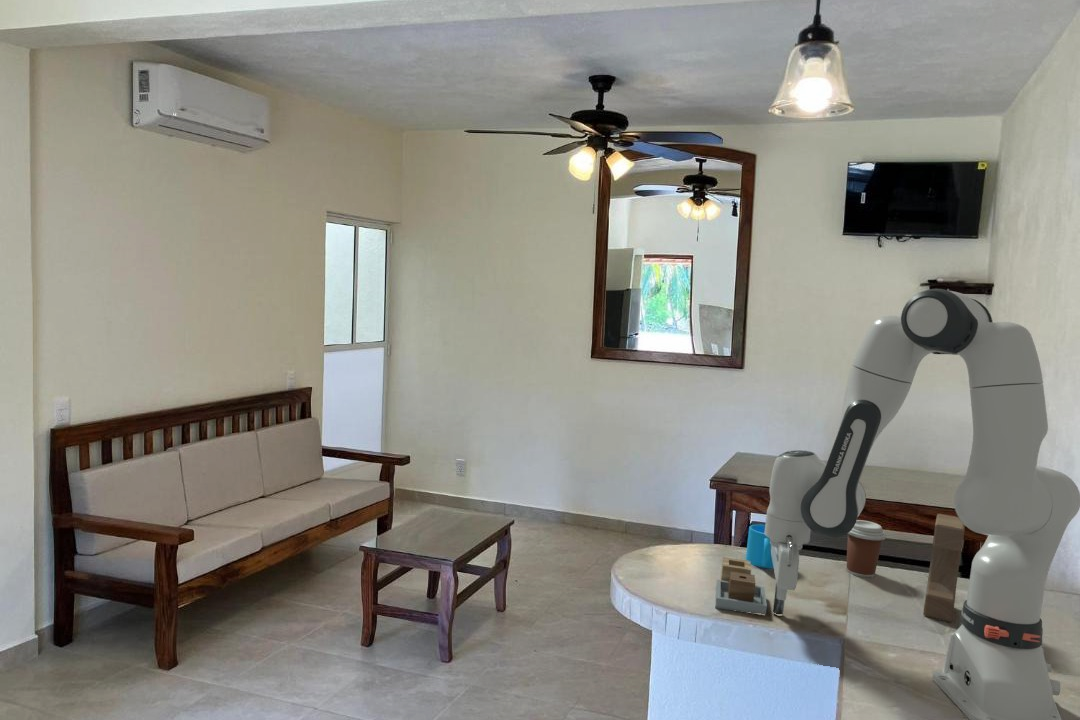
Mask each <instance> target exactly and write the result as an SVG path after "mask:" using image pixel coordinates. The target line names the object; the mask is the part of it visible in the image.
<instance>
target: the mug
mask: <svg viewBox="0 0 1080 720" xmlns="http://www.w3.org/2000/svg"><path fill="white" fill-rule="evenodd" d="M745 553H746V554H745V560H746V561H750V563H751V565H752V566H755V567H758V568H763V569H764V568H765V569H774V567H773V562H772V556H771V544H770V538H768V537H767V536H766V535H765V524H752V525H750V526H749V527H748V536H747V545H746V552H745Z"/></svg>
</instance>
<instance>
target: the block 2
mask: <svg viewBox="0 0 1080 720" xmlns="http://www.w3.org/2000/svg"><path fill="white" fill-rule="evenodd" d="M755 575H756V574H752V573H751V574H744V573H738V572H730V581H729V590H728V598H729V599H735V600H742V601H748V602H753V601H754V592H755V586H756V576H755Z"/></svg>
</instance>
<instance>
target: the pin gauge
mask: <svg viewBox="0 0 1080 720" xmlns="http://www.w3.org/2000/svg"><path fill="white" fill-rule="evenodd" d="M775 584H776V583H775ZM774 590H775V589H774ZM776 594H777V584H776V590H775V592H774V599H773V610H772V613H773V612H774V613H776V614H783V615H784V609H785V601H786V600H778V599H777V596H776Z"/></svg>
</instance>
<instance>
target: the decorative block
mask: <svg viewBox="0 0 1080 720" xmlns="http://www.w3.org/2000/svg"><path fill="white" fill-rule="evenodd" d="M965 527H966V526H965V525H964V524H963V523H962V522H961V520H960V519H959V517H958V516H954V515H948V514H943V513H937V514H936V518H935V524H934V531H933V538H932V539H933V540H932V547H931V554H930V563H929V564H930V565H929V570H928V571H929V572H928V577H927V584H926V585H927V586H926V591H925V596H924V597H925V599H924V605H923V613H922V614H923V616H924V617H925V618H926V617H927V618H931V619H936V620H939V621H944V622H947V623H951V622H952V621H953V617H954V610H955V602H956V591H957V586H958V585H957V583H958V575H959V568H960V561H961V555H962V551H963V544H964V537H965Z"/></svg>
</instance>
